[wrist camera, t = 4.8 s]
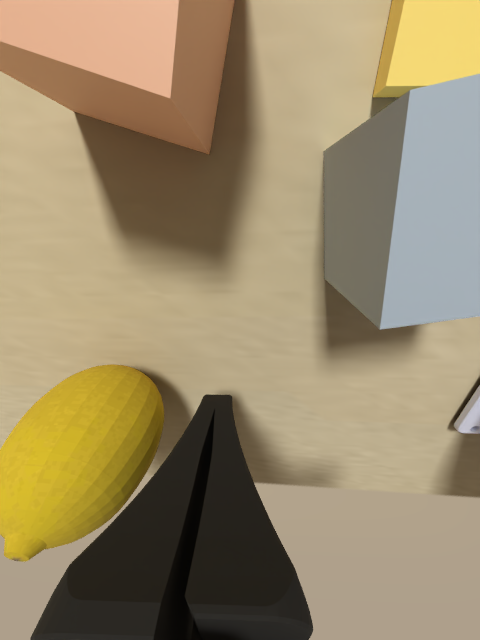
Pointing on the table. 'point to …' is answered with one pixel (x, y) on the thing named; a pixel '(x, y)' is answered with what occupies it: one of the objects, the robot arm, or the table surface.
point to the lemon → (77, 458)
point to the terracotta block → (124, 60)
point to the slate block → (408, 208)
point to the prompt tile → (428, 45)
